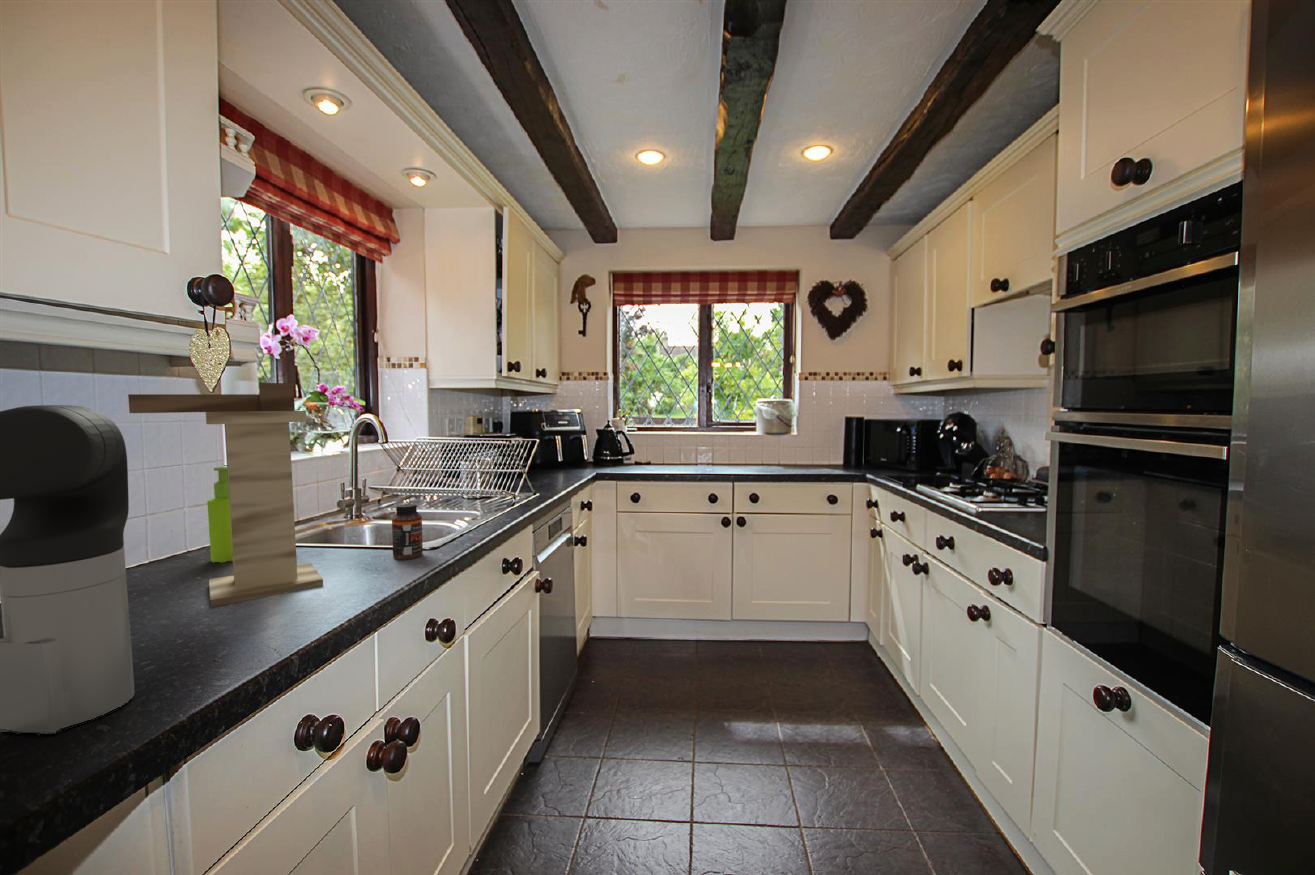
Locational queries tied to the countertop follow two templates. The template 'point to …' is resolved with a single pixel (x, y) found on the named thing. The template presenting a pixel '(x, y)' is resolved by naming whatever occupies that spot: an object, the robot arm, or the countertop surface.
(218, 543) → the soap dispenser
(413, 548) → the supplement bottle
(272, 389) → the walnut bar
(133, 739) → the countertop surface
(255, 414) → the oak stand
